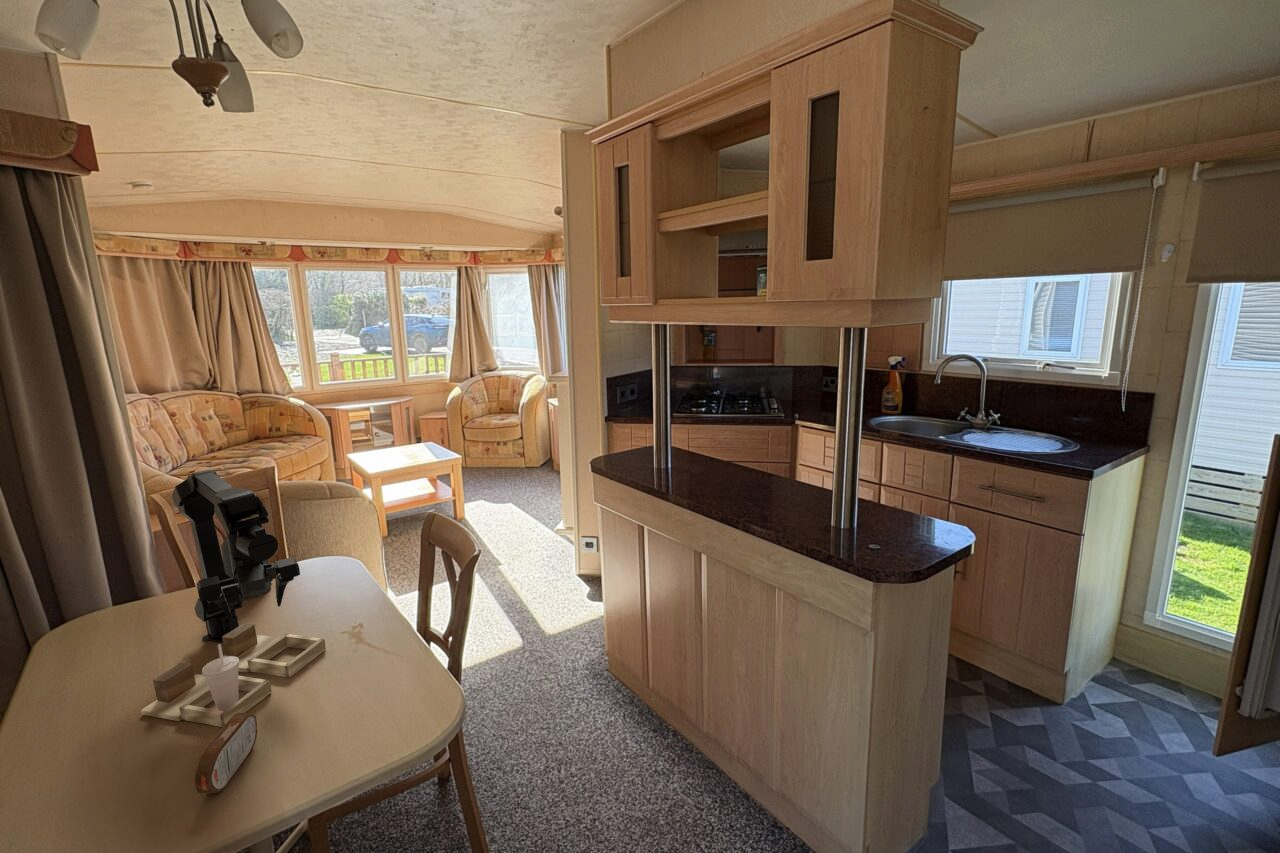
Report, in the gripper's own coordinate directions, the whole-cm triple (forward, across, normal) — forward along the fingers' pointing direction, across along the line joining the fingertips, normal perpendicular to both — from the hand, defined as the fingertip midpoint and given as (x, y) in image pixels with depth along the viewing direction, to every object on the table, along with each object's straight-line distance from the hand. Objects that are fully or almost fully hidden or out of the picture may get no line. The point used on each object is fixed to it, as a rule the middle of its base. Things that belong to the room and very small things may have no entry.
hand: (255, 612), depth 134 cm
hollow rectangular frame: (+14, +2, +3) cm, 14 cm away
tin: (+14, -10, -32) cm, 36 cm away
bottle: (+14, +3, +44) cm, 46 cm away
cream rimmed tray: (+14, -11, -7) cm, 19 cm away
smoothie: (+14, -8, -11) cm, 19 cm away
